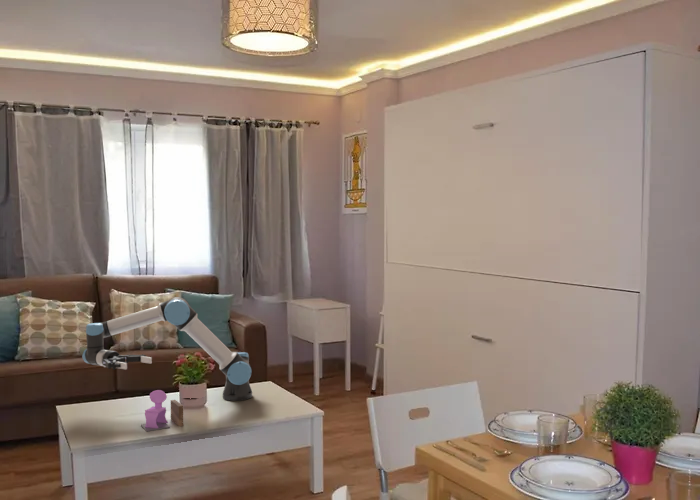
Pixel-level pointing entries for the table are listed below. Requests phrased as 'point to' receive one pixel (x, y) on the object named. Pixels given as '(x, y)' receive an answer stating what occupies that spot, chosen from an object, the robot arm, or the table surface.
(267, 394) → the table surface
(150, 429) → the coaster
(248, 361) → the robot arm
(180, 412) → the brown wooden slab
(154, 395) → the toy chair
